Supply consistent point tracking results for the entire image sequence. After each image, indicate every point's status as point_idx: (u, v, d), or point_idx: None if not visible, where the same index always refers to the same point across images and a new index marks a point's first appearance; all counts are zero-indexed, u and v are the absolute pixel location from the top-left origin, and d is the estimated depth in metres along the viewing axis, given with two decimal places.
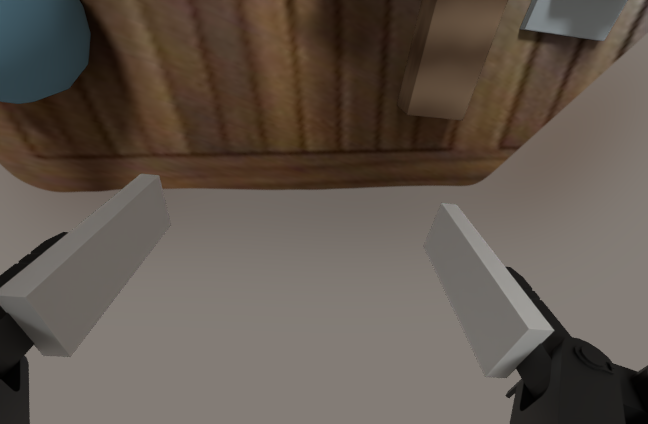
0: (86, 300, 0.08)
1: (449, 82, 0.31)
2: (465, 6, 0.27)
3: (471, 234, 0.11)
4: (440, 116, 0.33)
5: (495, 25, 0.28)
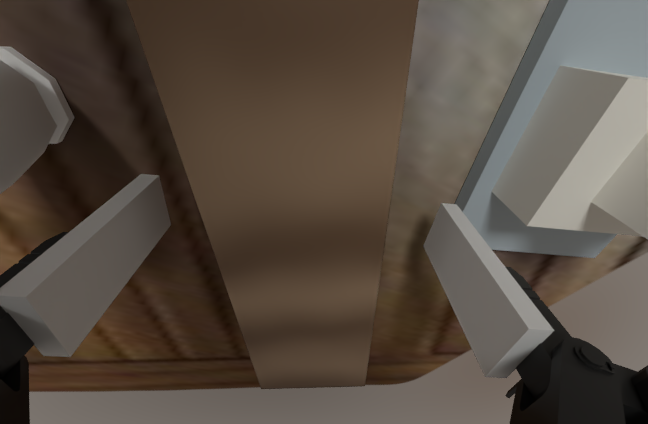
0: (86, 300, 0.08)
1: (316, 357, 0.16)
2: (291, 280, 0.12)
3: (471, 234, 0.11)
4: (322, 386, 0.18)
5: (371, 294, 0.13)
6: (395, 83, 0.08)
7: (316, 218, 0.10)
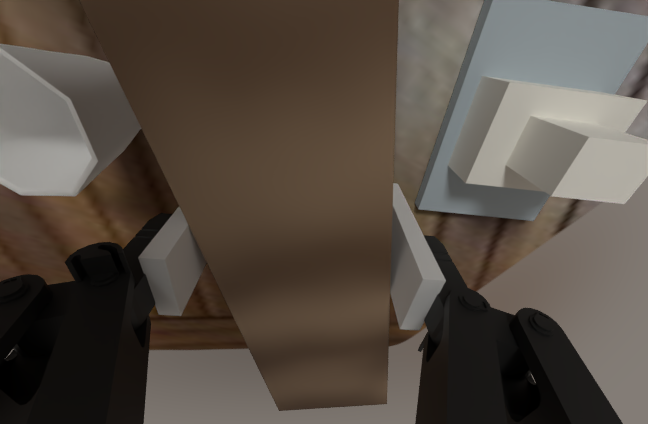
0: (189, 269, 0.10)
1: (332, 377, 0.15)
2: (296, 300, 0.12)
3: (401, 207, 0.12)
4: (341, 405, 0.17)
5: (383, 310, 0.12)
6: (383, 89, 0.07)
7: (315, 236, 0.10)
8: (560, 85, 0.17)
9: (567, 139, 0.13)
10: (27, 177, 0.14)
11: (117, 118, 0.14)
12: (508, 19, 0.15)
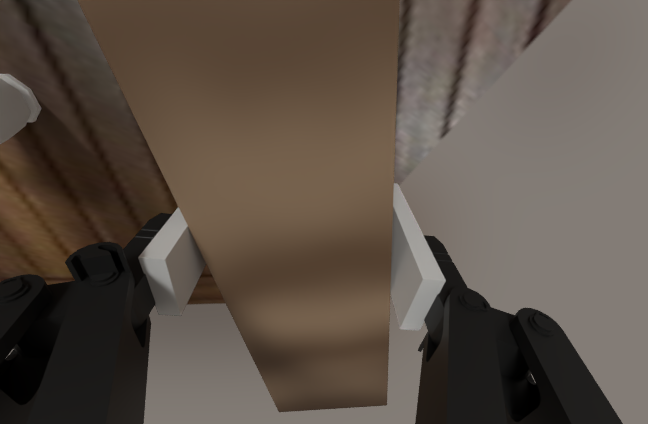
0: (189, 269, 0.10)
1: (332, 378, 0.15)
2: (296, 302, 0.12)
3: (401, 207, 0.12)
4: (341, 407, 0.17)
5: (383, 311, 0.12)
6: (384, 92, 0.07)
7: (315, 238, 0.10)
8: None
9: None
10: None
11: None
12: None
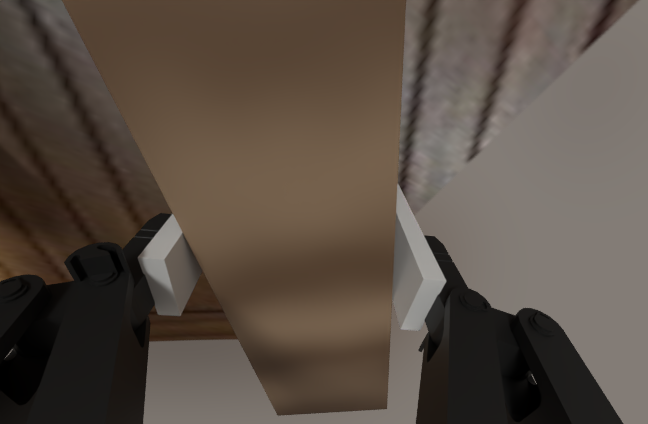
0: (189, 269, 0.10)
1: (332, 382, 0.15)
2: (295, 308, 0.11)
3: (402, 207, 0.12)
4: (341, 410, 0.17)
5: (384, 318, 0.12)
6: (388, 93, 0.07)
7: (315, 244, 0.09)
8: None
9: None
10: None
11: None
12: None
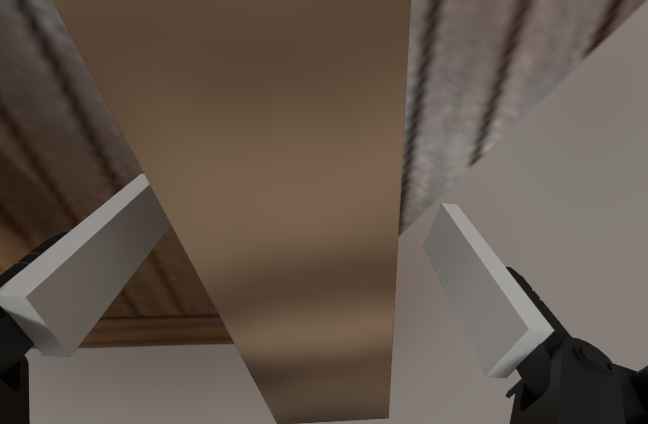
0: (86, 300, 0.08)
1: (332, 392, 0.15)
2: (296, 318, 0.11)
3: (471, 234, 0.11)
4: (342, 419, 0.17)
5: (386, 328, 0.12)
6: (391, 102, 0.06)
7: (315, 254, 0.09)
8: None
9: None
10: None
11: None
12: None
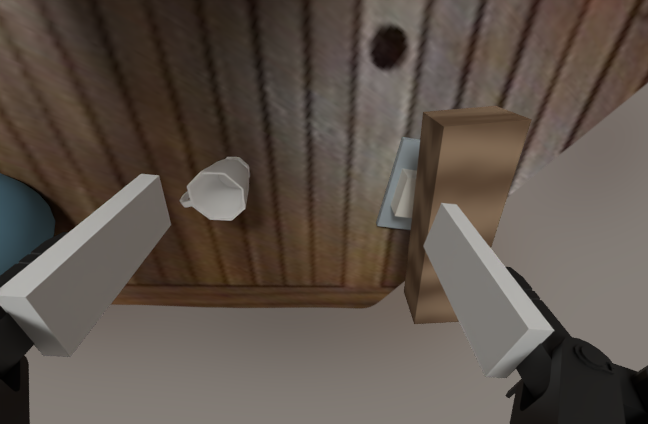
0: (86, 300, 0.08)
1: (448, 302, 0.34)
2: None
3: (471, 234, 0.11)
4: (445, 321, 0.36)
5: None
6: (503, 197, 0.26)
7: None
8: None
9: None
10: (211, 212, 0.34)
11: (246, 188, 0.35)
12: (410, 148, 0.36)
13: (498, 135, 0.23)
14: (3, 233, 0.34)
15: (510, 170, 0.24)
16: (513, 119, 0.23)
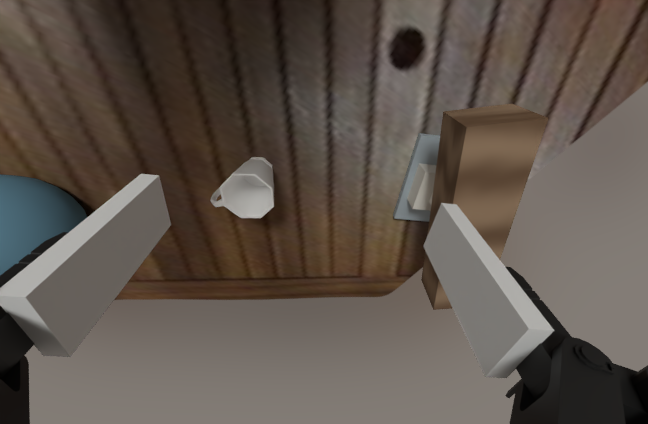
0: (86, 300, 0.08)
1: None
2: None
3: (471, 234, 0.11)
4: None
5: (498, 255, 0.33)
6: (520, 190, 0.28)
7: (486, 228, 0.31)
8: None
9: None
10: (240, 210, 0.36)
11: (273, 187, 0.37)
12: (427, 144, 0.38)
13: (517, 133, 0.24)
14: (49, 236, 0.36)
15: (527, 165, 0.26)
16: (531, 118, 0.24)
